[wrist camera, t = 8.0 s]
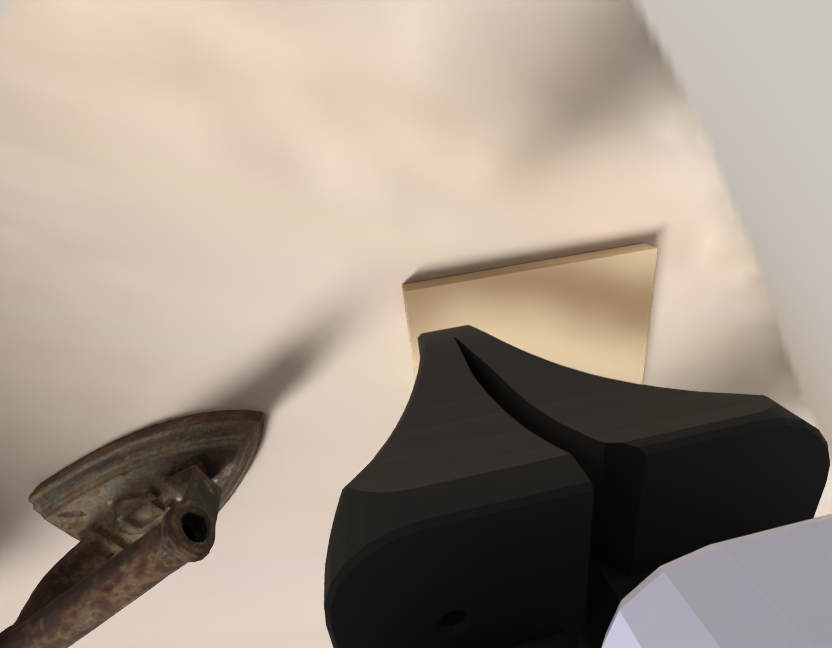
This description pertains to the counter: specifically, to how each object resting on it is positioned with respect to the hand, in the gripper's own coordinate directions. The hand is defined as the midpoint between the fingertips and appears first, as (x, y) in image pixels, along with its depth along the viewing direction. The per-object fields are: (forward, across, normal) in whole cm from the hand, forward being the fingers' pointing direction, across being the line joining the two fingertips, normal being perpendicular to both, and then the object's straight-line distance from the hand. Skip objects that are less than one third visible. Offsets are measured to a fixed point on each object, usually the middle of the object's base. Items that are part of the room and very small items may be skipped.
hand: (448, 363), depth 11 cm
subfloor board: (+9, -6, +10) cm, 15 cm away
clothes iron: (+10, +12, +9) cm, 18 cm away
